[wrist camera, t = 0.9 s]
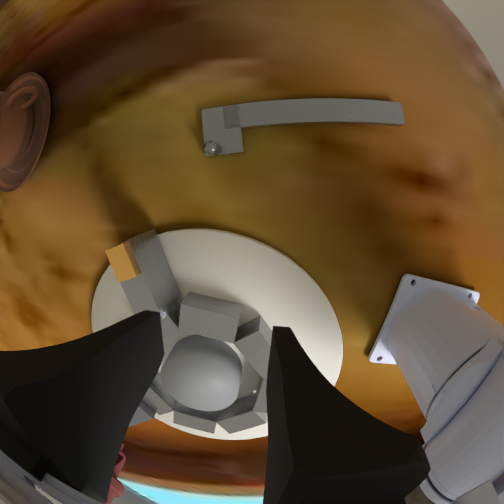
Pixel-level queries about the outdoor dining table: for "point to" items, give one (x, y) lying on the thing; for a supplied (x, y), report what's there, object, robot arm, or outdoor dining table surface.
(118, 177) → the outdoor dining table surface
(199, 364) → the white round disc
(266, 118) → the pin spanner
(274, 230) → the outdoor dining table surface
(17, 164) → the cup and saucer
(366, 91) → the outdoor dining table surface
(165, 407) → the grey block crown
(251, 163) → the outdoor dining table surface
